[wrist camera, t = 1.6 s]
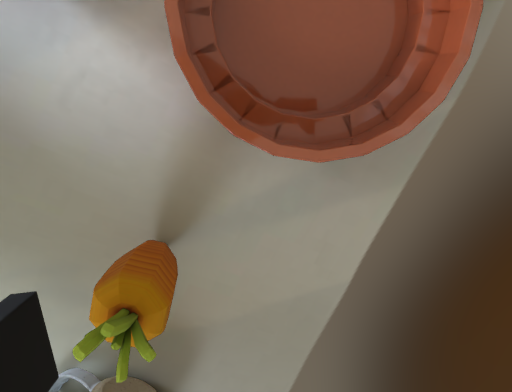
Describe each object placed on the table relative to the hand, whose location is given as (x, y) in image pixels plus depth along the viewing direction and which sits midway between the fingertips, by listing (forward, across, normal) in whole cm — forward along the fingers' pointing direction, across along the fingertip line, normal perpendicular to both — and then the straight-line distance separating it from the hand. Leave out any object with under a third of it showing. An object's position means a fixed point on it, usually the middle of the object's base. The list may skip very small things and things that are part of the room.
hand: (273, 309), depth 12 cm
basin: (+24, +4, +11) cm, 26 cm away
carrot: (+24, -10, -5) cm, 26 cm away
